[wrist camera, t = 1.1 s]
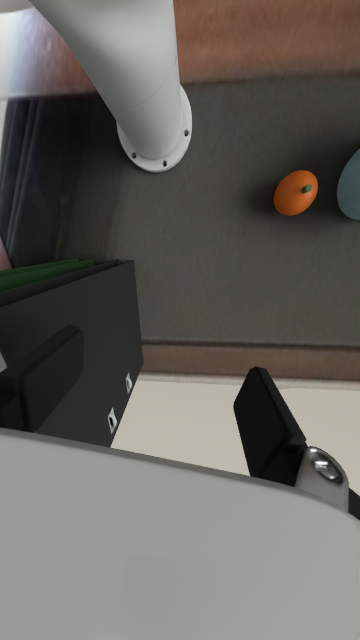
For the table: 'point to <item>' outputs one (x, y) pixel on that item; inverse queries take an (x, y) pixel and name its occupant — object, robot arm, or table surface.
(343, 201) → the pot
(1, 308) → the green and black books
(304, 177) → the orange
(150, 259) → the table surface
